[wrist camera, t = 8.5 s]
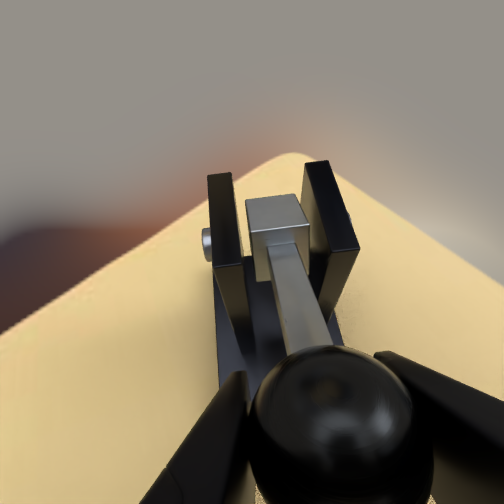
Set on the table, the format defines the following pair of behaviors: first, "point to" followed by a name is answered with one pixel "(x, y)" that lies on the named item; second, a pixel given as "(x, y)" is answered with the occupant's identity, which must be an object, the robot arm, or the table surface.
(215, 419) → the robot arm
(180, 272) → the table surface
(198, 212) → the table surface
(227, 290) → the lever bracket
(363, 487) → the ball knob lever
